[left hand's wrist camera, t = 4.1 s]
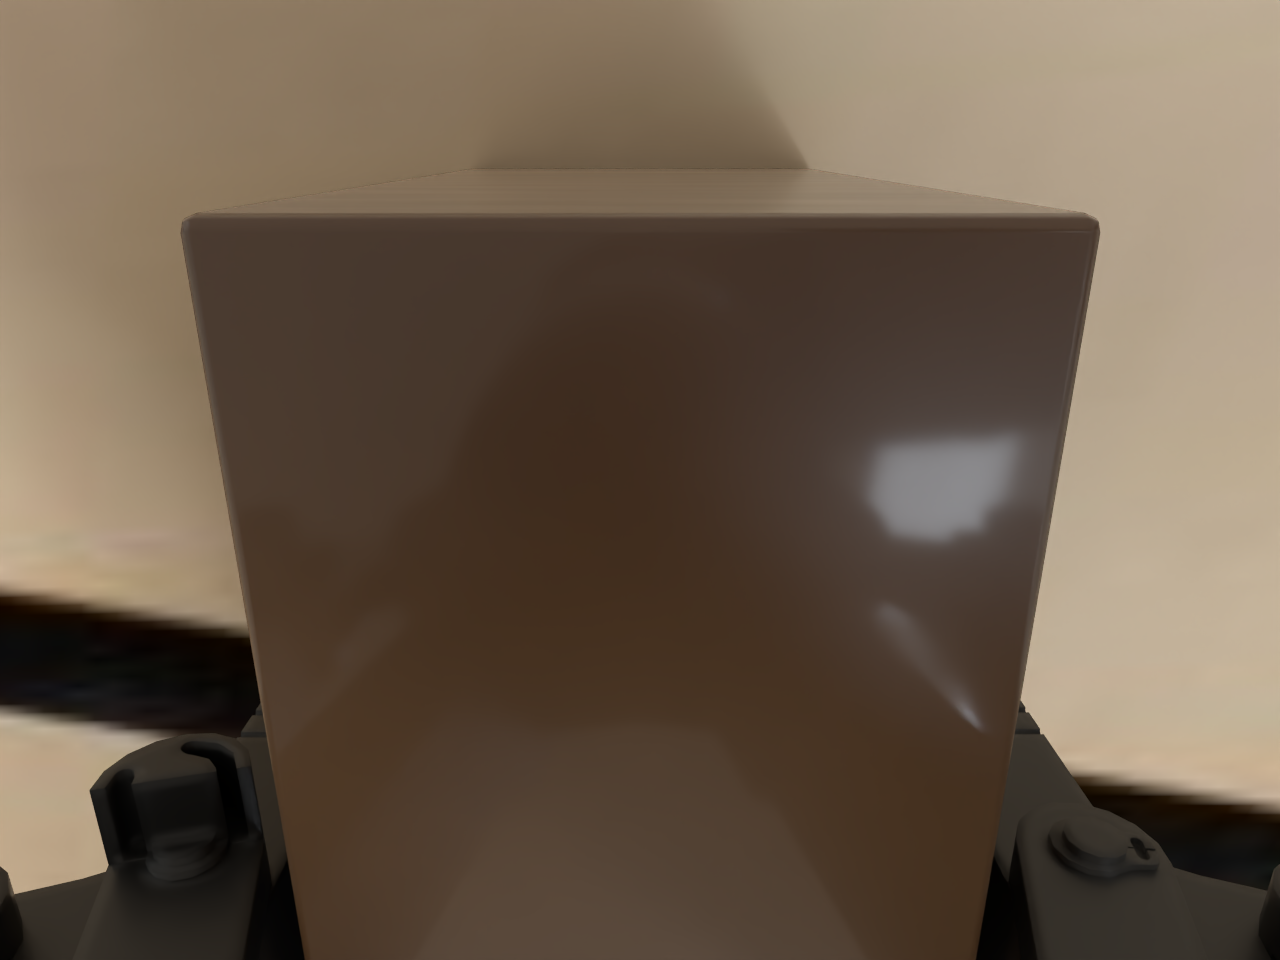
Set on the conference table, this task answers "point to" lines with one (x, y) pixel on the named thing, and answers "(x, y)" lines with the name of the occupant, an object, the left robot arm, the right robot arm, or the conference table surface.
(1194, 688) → the conference table surface
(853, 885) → the post
